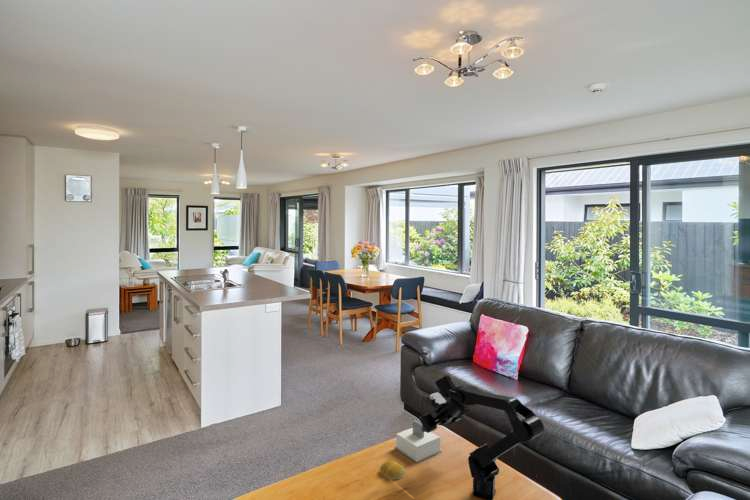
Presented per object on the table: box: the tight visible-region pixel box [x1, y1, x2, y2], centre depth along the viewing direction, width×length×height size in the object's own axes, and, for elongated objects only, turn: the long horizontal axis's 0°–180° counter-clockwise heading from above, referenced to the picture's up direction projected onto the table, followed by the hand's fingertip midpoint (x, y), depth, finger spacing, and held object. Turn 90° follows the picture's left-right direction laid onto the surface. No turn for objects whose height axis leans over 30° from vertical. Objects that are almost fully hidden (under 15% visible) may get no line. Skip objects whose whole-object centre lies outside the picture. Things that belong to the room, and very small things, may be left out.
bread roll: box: [379, 459, 405, 481], centre depth 150 cm, size 8×9×4 cm
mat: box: [394, 446, 443, 464], centre depth 165 cm, size 14×14×1 cm
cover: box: [395, 419, 441, 463], centre depth 165 cm, size 13×13×11 cm
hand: (430, 427), depth 158 cm, fingers open, 9 cm apart
